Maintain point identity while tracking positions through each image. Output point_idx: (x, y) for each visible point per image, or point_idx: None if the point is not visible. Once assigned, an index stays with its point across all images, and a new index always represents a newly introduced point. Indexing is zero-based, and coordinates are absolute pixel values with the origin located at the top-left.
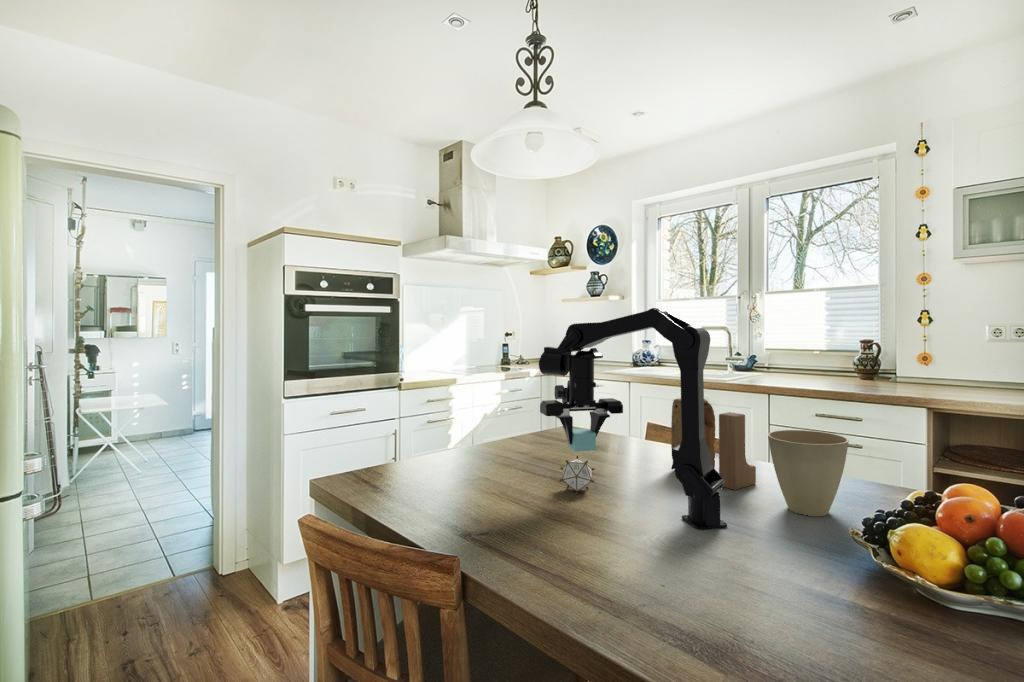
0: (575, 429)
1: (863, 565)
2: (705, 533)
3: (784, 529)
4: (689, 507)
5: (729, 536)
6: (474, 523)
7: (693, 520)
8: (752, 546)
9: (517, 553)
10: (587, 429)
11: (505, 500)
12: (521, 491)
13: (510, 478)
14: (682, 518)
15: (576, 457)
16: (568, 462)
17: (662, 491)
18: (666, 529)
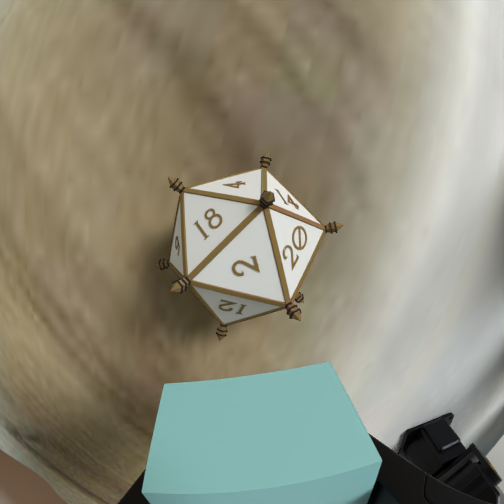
0: (229, 496)
1: None
2: None
3: (482, 433)
4: (416, 459)
5: None
6: (5, 400)
7: (405, 455)
8: None
9: (99, 493)
10: (359, 485)
11: (16, 291)
12: (47, 214)
13: (37, 68)
14: (405, 433)
15: (260, 200)
16: (190, 282)
17: (475, 272)
18: None
